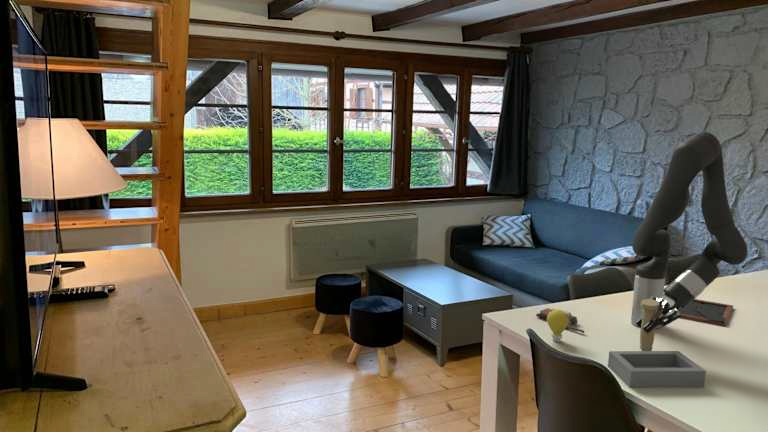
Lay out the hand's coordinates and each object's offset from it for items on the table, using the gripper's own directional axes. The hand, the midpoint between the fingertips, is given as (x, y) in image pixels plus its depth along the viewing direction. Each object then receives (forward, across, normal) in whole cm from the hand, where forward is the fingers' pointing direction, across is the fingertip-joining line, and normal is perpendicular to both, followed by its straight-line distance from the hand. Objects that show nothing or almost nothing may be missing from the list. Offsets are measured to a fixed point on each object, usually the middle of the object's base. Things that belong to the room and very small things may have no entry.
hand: (641, 328), depth 167 cm
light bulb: (+21, -11, -9) cm, 25 cm away
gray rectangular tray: (+8, +15, +3) cm, 17 cm away
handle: (+4, 0, +6) cm, 7 cm away
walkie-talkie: (+16, -26, -3) cm, 30 cm away
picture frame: (-23, -38, +36) cm, 58 cm away
